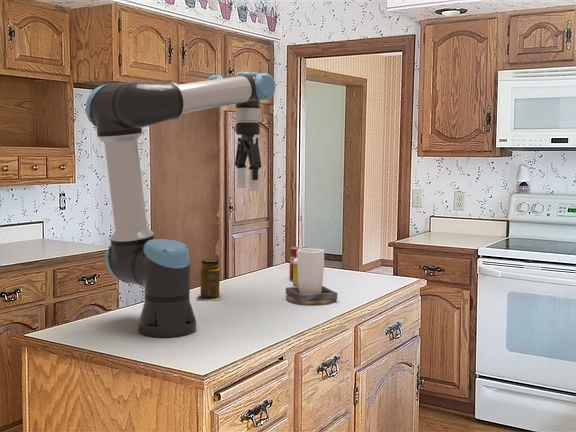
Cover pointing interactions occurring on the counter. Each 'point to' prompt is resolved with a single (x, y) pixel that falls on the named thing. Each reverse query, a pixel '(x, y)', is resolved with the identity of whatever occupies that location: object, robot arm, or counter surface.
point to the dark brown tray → (310, 297)
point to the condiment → (209, 280)
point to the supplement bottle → (295, 273)
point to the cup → (310, 270)
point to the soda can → (292, 257)
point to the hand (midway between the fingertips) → (247, 189)
